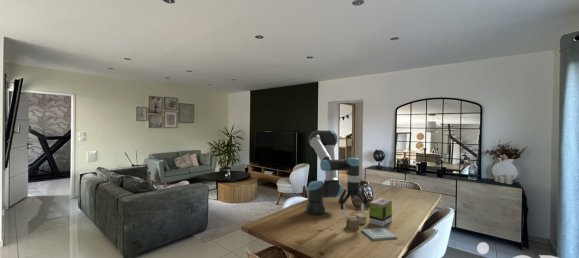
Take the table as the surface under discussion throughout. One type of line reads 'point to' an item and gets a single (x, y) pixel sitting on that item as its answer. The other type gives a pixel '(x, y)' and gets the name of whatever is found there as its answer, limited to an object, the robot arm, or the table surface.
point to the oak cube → (361, 218)
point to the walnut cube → (352, 223)
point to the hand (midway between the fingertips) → (353, 213)
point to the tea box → (380, 212)
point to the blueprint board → (378, 234)
